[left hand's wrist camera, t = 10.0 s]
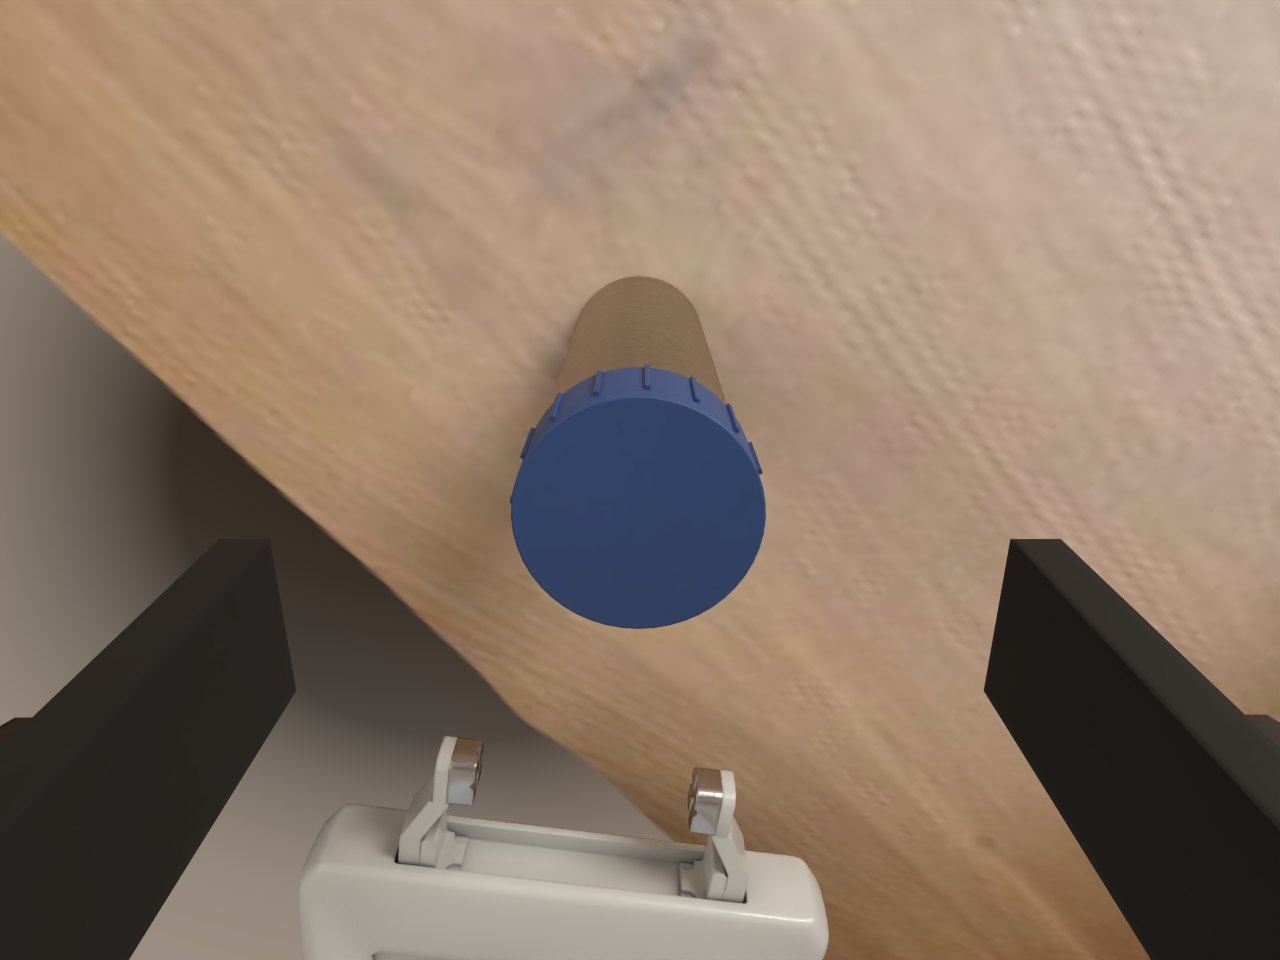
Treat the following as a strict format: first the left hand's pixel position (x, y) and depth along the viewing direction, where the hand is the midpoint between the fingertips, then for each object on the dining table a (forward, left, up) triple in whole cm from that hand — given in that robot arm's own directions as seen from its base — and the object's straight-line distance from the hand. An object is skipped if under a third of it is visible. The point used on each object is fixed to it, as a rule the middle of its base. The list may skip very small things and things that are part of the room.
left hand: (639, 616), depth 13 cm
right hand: (+11, -9, -14) cm, 20 cm away
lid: (0, 0, -4) cm, 4 cm away
